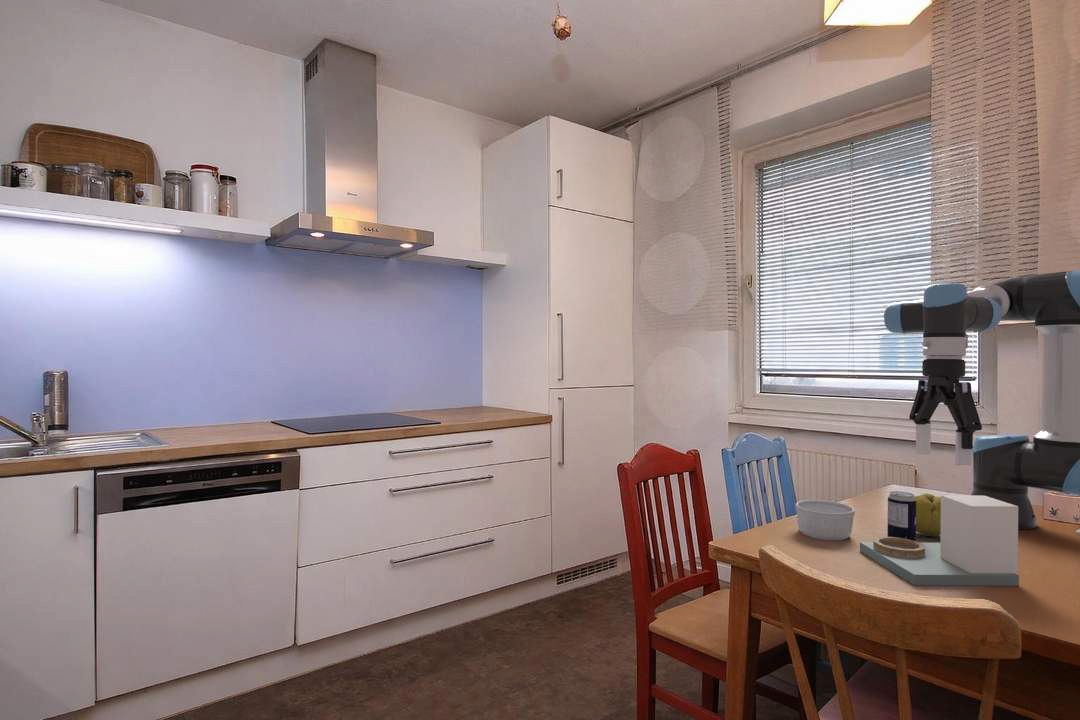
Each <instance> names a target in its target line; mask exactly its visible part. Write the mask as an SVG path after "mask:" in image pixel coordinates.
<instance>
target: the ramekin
mask: <svg viewBox="0 0 1080 720" xmlns="http://www.w3.org/2000/svg"><path fill="white" fill-rule="evenodd" d="M795 510H796V518H797V526H798V529H799V530H800V532H801V533H802V535H804V536H807V537H808V538H809V537H810V538H813V539H818V540H824V541H843V540H846V539H848V538H849V537H850V536H851V533H852V529H853V522H854V517H855V514H856V513H855V512H856V511H855V508H854V507H852V506H851V505H848V504H846V503H841V502H838V501H837V502H836V501H832V500H820V499H807V500H800V501H797V502H796V503H795Z"/></svg>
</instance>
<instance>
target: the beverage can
mask: <svg viewBox="0 0 1080 720" xmlns="http://www.w3.org/2000/svg"><path fill="white" fill-rule="evenodd" d="M914 496H915V494H914V493H911V492H906V491H890V492H889V495H888V497H887V535H886V537H898V538H905V539H909V540H913V541H917V532H916V499H915V497H914Z"/></svg>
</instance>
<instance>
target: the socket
mask: <svg viewBox="0 0 1080 720" xmlns="http://www.w3.org/2000/svg"><path fill="white" fill-rule="evenodd" d="M872 542H873V548H874V549H876V550H877V551H879V552H881V553H885V554H888V555H892V556H898V557H905V558H919V557H923V556H925V545H923V544H921V543H922V542H918V540H916V541H913V540H909V539H905V538H898V537H887V536H878V537H874V538H873V541H872ZM887 545H898V546H905V547H908V548H912V549H901V548H894V547H890V546H887Z"/></svg>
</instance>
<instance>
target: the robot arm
mask: <svg viewBox="0 0 1080 720" xmlns="http://www.w3.org/2000/svg"><path fill="white" fill-rule="evenodd" d="M1001 321H1014V322H1016V321H1018V322H1031V321H1032V322H1033V321H1034V328H1035V329H1036V330H1037V331H1038V332H1040V333H1041V334H1042V341H1041V342H1042V345H1041V346H1042V348H1041V350H1042V351H1041V353H1042V356H1041V359H1042V360H1041V366H1042V367H1041V425H1040V427H1041V429H1040V430H1039V431H1038V432H1036V433H1035V434H1034V435H1033V440H1032V441H1030V438H1029V436H1028V435H1027V434H993V435H991V434H990V435H989V434H988V435H979V436H977V437H975V439H974V433H976V432H977V431H981V430H982V429H983V426H982V422H981V420H980V416H979V413H978V410H977V406H976V404H975V400H974V396H973V393H972V384H971V382H968V381H964V382H963V381H960V378H964V377H965V376H966V360H965V359H963V357H965V356H966V355H967V337H966V336H967V335H966V333H967V332H973V333H981V332H988V331H991V330H992V329H994V328H996V327H998V325H999V324H1000V323H1001ZM883 323H884V326H885V328H886V330H888V331H889V332H890V333H892V334H903V335H905V334H920V333H922V337H923V338H922V342H921V345H922V356H924V357H926V358H923V360H922V365H921V366H922V368H921V370H922V371H921V372H922V373H921V374H922V376H924V377H928V379H919V380H918V383H917V391H916V394H915V396H914V400H913V404H912V405H911V406H912V407H911V411H910V414H909V416H908V417H909V418H908V419H909V420H910V421H913V422H914V424H915V454H917V455H931V439H932V438H931V435H932V434H931V433H932V432H931V431H932V429H931V425H932V422H931V418H932V416H933V414H934V413H935V411H936V409H937V408H938V405H939V404H941V403H942V404H943V405H945V406H946V407H947V409H948V410H949V413H950V415H951V417H952V419H953V420H954V423H955V425H956V427H957V428H956V429H955V449H954V450H955V454H954V455H955V457H954V458H955V459H954V462H955V463H954V464H955V465H956V466H972V491H971V493H970V495H976V496H987V497H990V498H994V499H997V500H1000V501H1003V502H1006V503H1009V504H1012V505H1015V506H1018V530H1029V529H1031V530H1032V529H1034V528H1036V527H1037V517H1036V515H1035V512H1034V509H1033V506H1032V503H1031V500H1030V498H1029V488H1033V489H1039V490H1045V491H1051V492H1057V493H1061V494H1064V495H1073V496H1074V495H1075V496H1080V270H1067V271H1058V272H1051V273H1050V272H1049V273H1041V274H1039V273H1038V274H1030V275H1022V276H1021V275H1020V276H1016V277H1010V278H1007V279H1004V280H999V281H995V282H992V283H986V284H983V285H979V286H977V287H976V288H975V289H974V290H969V291H967V287H966V285H965V284H963V283H957V282H955V283H953V282H952V283H949V282H948V283H936V284H931V285H928V286H926V287H925V289H924V292H923V298H921V299H916V300H911V301H909V300H908V301H903V300H902V301H899V302H892V303H890V304H888V305H887V307H886V308H885V310H884V313H883Z"/></svg>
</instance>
